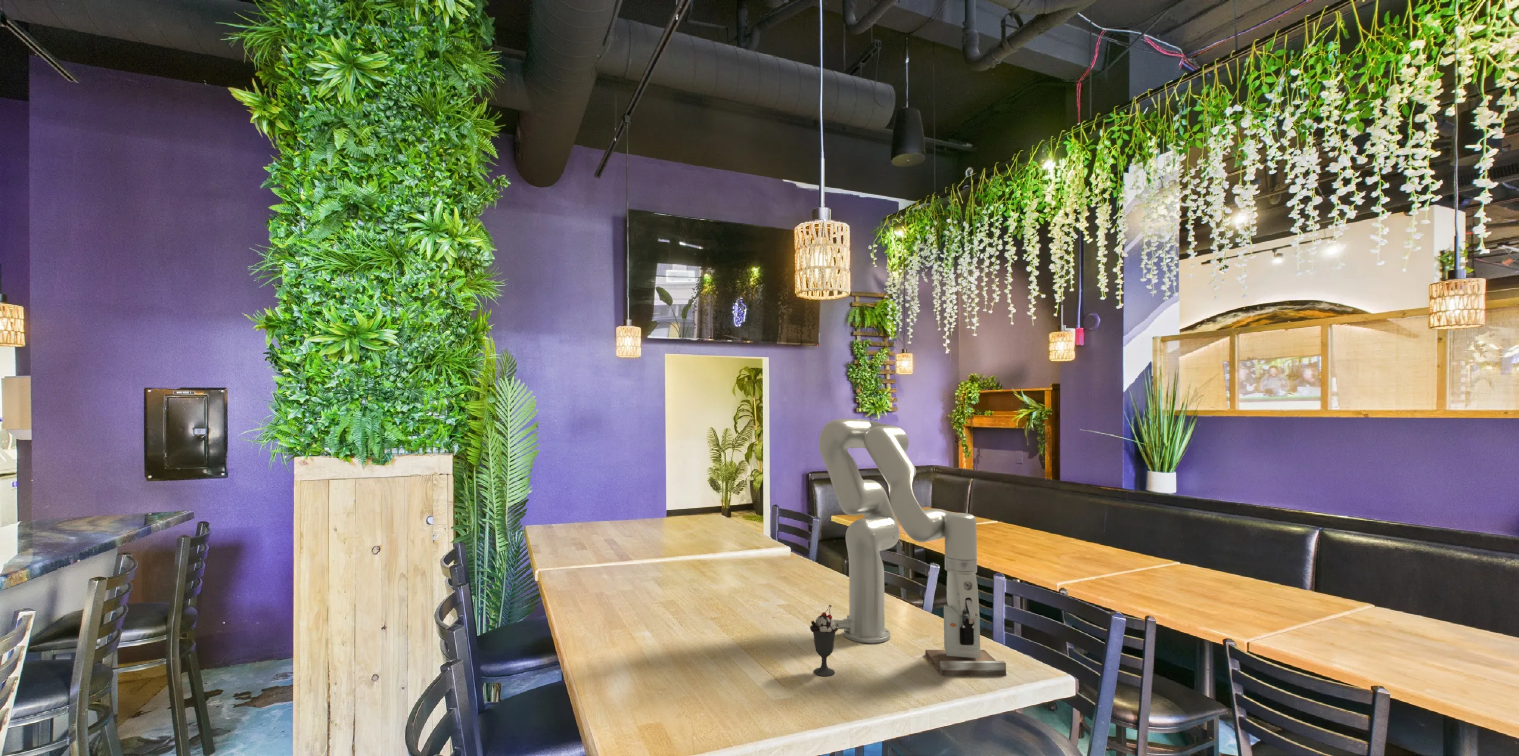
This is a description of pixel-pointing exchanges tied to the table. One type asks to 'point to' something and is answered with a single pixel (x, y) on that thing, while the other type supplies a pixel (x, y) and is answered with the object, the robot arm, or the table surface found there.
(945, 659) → the shelf board
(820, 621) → the sundae
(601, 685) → the table surface
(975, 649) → the small box
